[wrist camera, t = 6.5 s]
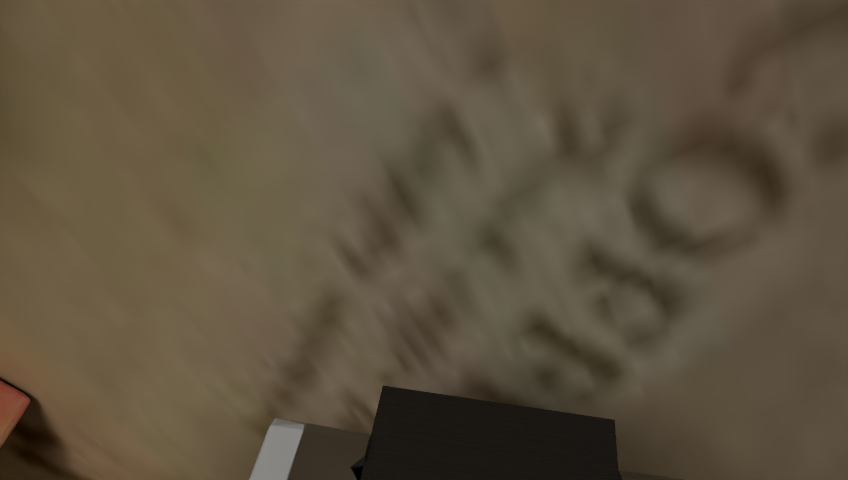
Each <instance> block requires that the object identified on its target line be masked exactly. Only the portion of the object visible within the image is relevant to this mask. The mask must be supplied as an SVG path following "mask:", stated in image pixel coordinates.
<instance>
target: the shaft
mask: <svg viewBox="0 0 848 480" xmlns="http://www.w3.org/2000/svg"><path fill="white" fill-rule="evenodd" d="M360 480H619V479H618V462H617V448H616V434H615V420H612V419H605V418H598V417H591V416H585V415H578V414H571V413H564V412H558V411H551V410H544V409H537V408H531V407H524V406H517V405H510V404H504V403H497V402H490V401H483V400H476V399H470V398H463V397H456V396H449V395H443V394H436V393H429V392H422V391H416V390H409V389H402V388H395V387H389V386H383V388H382V392H381V396H380V400H379V404H378V408H377V413H376V417H375V421H374V425H373V429H372V433H371V440H370V445H369V449H368V453H367V457H366V461H365V465H364V466H363V470H362V474H361V479H360Z"/></svg>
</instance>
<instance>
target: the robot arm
mask: <svg viewBox="0 0 848 480" xmlns="http://www.w3.org/2000/svg"><path fill="white" fill-rule="evenodd" d="M370 440H371V435H370V434H365V433H359V432H353V431H348V430H342V429H337V428H331V427H325V426H320V425H314V424H308V423H302V422H296V421H289V420H283V419H277V418H275V420H274V421H273V422H272V424H271V425H270V427H269V429H268V431H267V434H266V437H265V439H264V442H263V445H262V447H261V450H260V453H259V455H258V458H257V460H256V463H255V466H254V468H253V471H252V474H251V476H250V479H249V480H360V479H361V474H362V470H363V466H364V465H365V461H366V457H367V453H368V449H369V445H370ZM618 479H619V480H683V479H676V478H669V477H661V476H654V475H647V474H639V473H632V472H625V471H618Z"/></svg>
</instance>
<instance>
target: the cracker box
mask: <svg viewBox="0 0 848 480" xmlns="http://www.w3.org/2000/svg"><path fill="white" fill-rule="evenodd" d="M30 403H31V401H30V399H29V398H28V397H27V396H26V395H25V394H24V393H23V392H21V391H19V390H17V389H15V388H13V387H11V386H10V385H8V384H6V383H4V382H2V381H1V380H0V448H1V447H2V445H3V444H4V442H5V441H6V440H7V438H8V437H9V435H10V434H11V432H12V431H13V429H14V428H15V426H16V425H17V423H18V422H19V420H20V419H21V417H22V416H23V414H24V412H25V411H26V409H27V408H28V406H29V404H30Z"/></svg>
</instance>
